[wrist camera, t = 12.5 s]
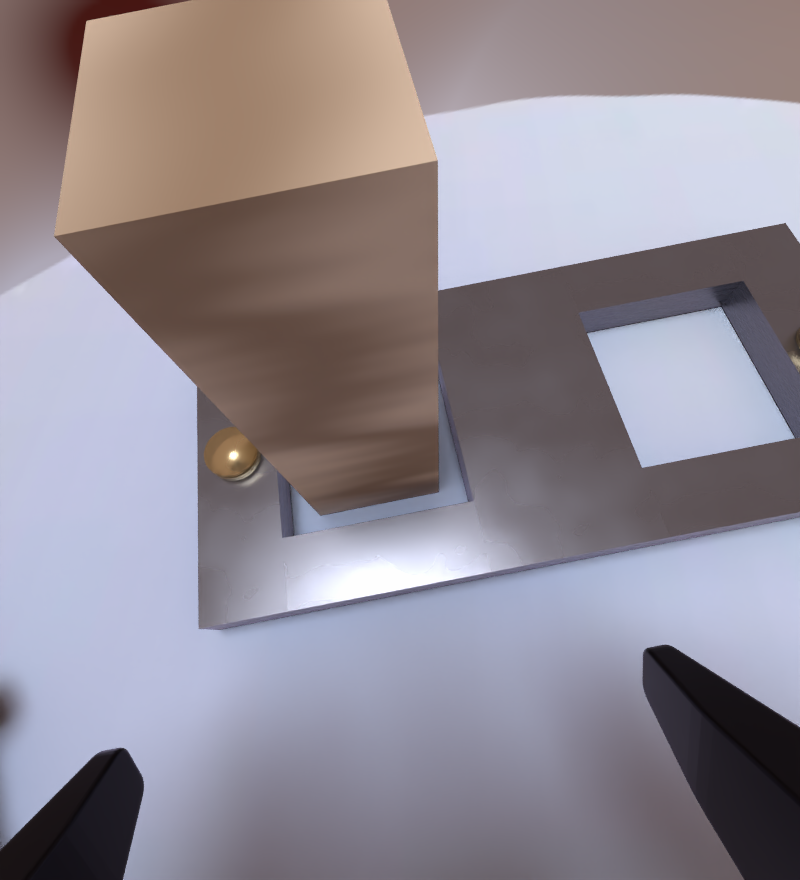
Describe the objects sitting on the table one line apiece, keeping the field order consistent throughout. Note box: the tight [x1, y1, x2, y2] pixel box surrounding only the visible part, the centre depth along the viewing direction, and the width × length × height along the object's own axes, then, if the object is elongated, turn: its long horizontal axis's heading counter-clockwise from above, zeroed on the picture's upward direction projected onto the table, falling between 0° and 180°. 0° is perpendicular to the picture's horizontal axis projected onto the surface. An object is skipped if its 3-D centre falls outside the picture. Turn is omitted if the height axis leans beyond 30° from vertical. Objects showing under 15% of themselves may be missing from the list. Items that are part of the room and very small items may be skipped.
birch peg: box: [54, 0, 439, 516], centre depth 12 cm, size 4×4×13 cm
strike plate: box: [197, 223, 800, 630], centre depth 17 cm, size 24×11×2 cm, turn 100°
